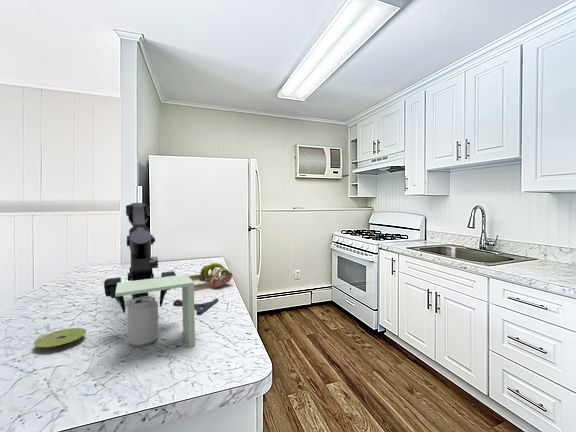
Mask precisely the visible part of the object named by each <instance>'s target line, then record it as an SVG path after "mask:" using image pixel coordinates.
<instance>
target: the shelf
mask: <svg viewBox="0 0 576 432" xmlns="http://www.w3.org/2000/svg"><path fill="white" fill-rule="evenodd" d="M189 276H190V275H188V274H186V273H185V274H179V275H176V276H169V277H161V276H159V277H160V278H158V277H154V278H152V279H144V280H136V281H128V280H126V281H127V282H123V281H121V282H119V283H117V287H116V292H115V297H117V296H123V297H124V296H130V295H131V296H132V294H138V293H145V292H148V293H151V292H159V291H161V290H166V289H170V290H173V289H179V288H181V292H182V293H181V297H182V300H181V301H182V305H183V306H182V333H183V334H184V335H183V336H184V337H185V340H186V343H187V345H188V347H189V348H190V347H194V346H196V331H195V330H196V327H195V325H196V322H195V309H194V304H195V291H194V284H195V282H194V281H192V280H191V278H190V277H189Z"/></svg>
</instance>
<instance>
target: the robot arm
mask: <svg viewBox="0 0 576 432" xmlns="http://www.w3.org/2000/svg"><path fill="white" fill-rule="evenodd" d="M150 213H151V212H150V205H148V204H146V203H145V202H133V203H130V204H128V205H126V206H125V214H126V216H127V217H128V218H127V219H128V222H129V223H130V225H131V226H132V227H131V228H129V231H128V235H126V247H129V251H130V267H129V272H127V280H125V281H122V279H121V277H120V276H119V277H118V276H117V277H112V278H111V277H110V278H106V279H105V280H104V282H103V283H104V284H103V289H104V295H105V297H107V298H108V297H110V299H115V300H116V302H117V303H118V304H119V306H120V308H121V310H122V312H123V314H124V313H126V305H125V298H124V296H117V297H115V292H116V287H117V283H119V282H127V281H136V280H144V279H152V278H155V274H154V272H153V269H157V268H158V267H159V260H158V256H151V248H152V246H153V245H154V243H155V242H156V238H155V237H154V235H153V234H151V230H150V228H149V227H147V226H146V223H147V221H148V219H149V218H148V217H149V216H150ZM169 276H177V275H176V272H175V271H172V270H171V271H163V272H161V275H160V276H159V277H157V278H160V277H169ZM159 291H160V293H159V307H162V306H163V302H164V298H165V295H166V294H167V292H168V291H171V289H166V290H159ZM143 296H149V292H145V293H138V294H131V299H130V301H131V300H132V299H135V298H138V297H143Z"/></svg>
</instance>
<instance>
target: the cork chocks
mask: <svg viewBox="0 0 576 432" xmlns="http://www.w3.org/2000/svg"><path fill="white" fill-rule="evenodd" d="M188 276H189V277H190V278H191V280H192V281H193V282H194V281H200V280H207V279H206V278H204V279H201V278H200V277H199V276H200V273H199V274H193V275H192V274H191V275H188ZM215 288H217V287H213V286H211V284H210V282H208V283H207V282H202V283H194V292H195V291H200V290H208V289H215Z"/></svg>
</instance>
